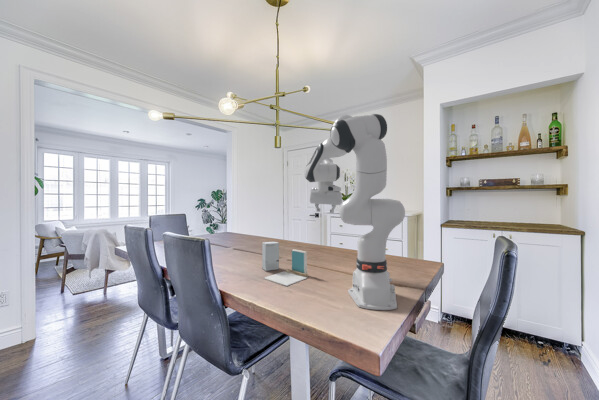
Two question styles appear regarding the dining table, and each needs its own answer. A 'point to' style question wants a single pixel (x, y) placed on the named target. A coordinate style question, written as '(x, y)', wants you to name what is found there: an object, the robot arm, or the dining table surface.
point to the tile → (299, 261)
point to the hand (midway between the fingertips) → (325, 212)
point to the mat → (285, 278)
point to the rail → (297, 273)
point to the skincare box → (270, 256)
